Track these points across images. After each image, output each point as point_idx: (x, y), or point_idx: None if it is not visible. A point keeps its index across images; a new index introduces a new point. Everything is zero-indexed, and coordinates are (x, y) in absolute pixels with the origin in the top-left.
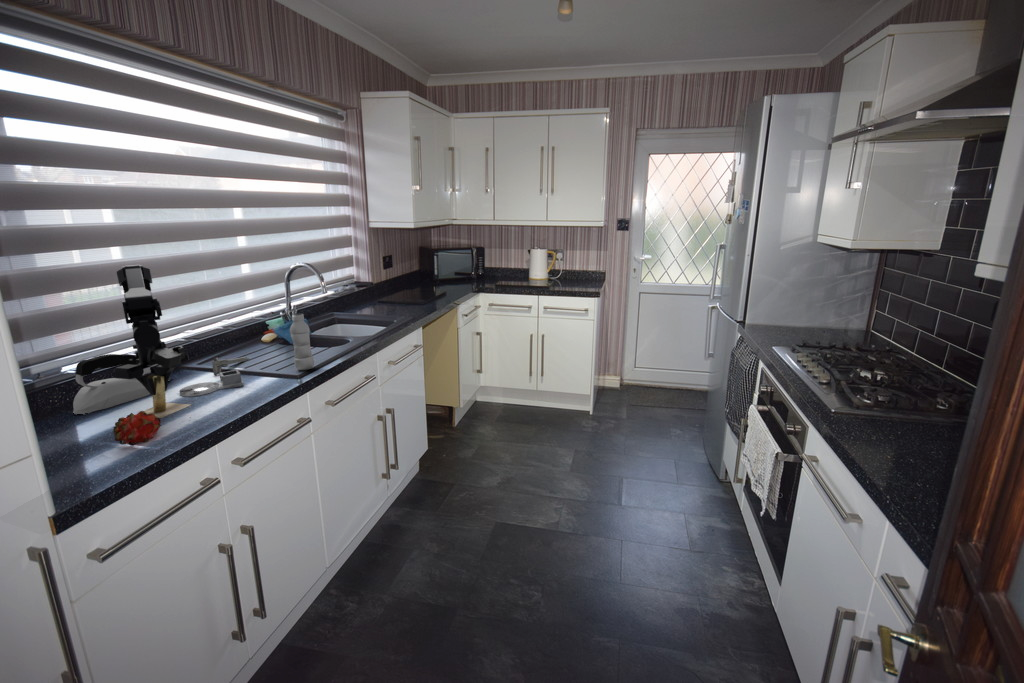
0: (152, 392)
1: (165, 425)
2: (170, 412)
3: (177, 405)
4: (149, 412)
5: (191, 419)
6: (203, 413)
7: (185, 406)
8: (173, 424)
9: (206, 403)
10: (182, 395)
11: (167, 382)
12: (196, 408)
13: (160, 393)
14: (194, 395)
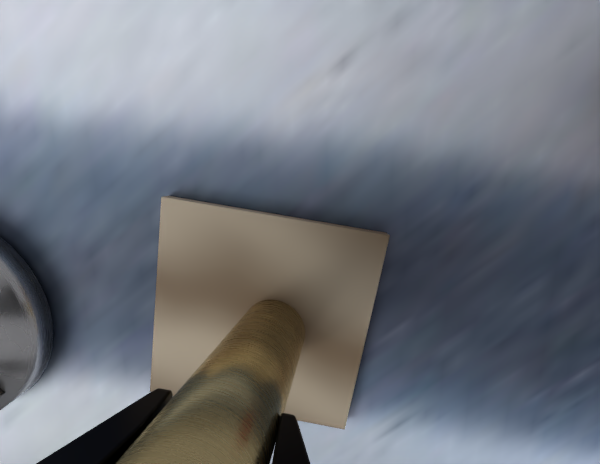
0: (302, 449)
1: (478, 140)
2: (298, 242)
3: (184, 282)
4: (302, 370)
5: (381, 23)
6: (272, 13)
7: (194, 216)
8: (465, 94)
9: (106, 134)
10: (40, 361)
11: (70, 450)
12: (192, 141)
13: (252, 382)
14: (25, 286)
